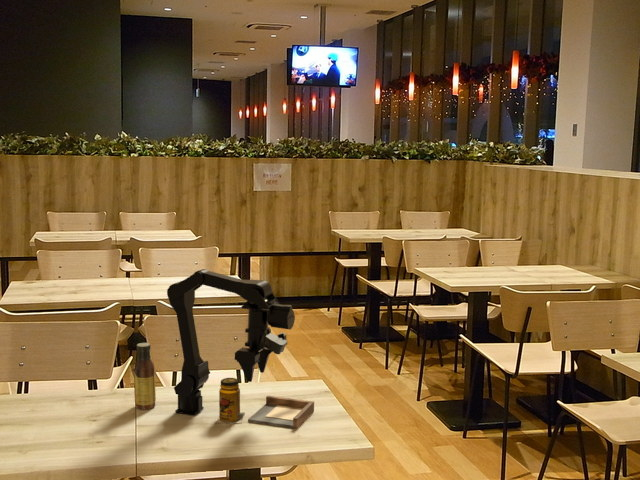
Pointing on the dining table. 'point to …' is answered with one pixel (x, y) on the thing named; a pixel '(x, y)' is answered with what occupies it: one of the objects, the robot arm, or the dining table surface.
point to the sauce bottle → (144, 378)
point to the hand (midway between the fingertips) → (255, 377)
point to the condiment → (229, 402)
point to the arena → (283, 412)
